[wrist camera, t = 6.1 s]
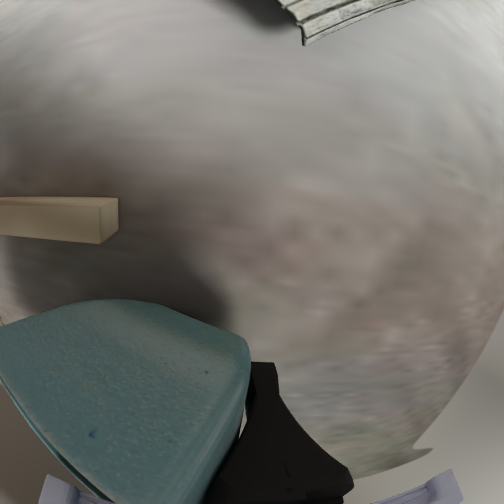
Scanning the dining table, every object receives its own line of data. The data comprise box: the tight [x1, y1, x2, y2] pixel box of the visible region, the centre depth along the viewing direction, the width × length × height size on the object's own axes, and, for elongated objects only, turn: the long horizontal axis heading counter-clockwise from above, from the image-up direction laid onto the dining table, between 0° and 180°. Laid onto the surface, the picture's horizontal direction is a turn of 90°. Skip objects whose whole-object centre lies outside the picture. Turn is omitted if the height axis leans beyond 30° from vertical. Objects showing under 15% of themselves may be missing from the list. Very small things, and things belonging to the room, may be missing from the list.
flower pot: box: [0, 299, 251, 504], centre depth 9 cm, size 9×9×9 cm
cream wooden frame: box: [0, 197, 119, 327], centre depth 12 cm, size 16×14×2 cm
